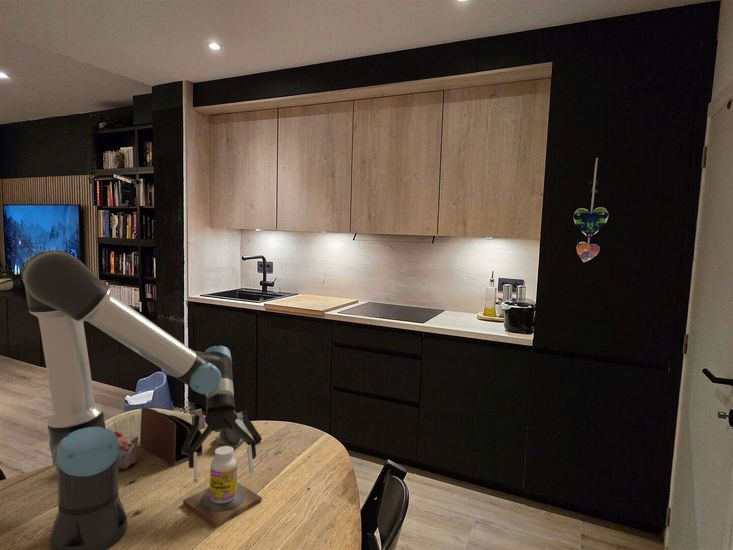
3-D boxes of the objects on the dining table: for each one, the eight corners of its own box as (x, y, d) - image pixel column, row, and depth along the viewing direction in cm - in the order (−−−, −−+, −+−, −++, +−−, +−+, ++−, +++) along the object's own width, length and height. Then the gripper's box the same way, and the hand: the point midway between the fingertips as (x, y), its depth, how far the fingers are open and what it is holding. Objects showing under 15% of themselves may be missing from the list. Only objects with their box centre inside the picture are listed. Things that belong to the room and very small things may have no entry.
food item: (142, 459, 136) (142, 428, 136) (128, 473, 129) (127, 440, 128) (97, 457, 136) (97, 426, 136) (80, 471, 128) (80, 438, 128)
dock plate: (215, 527, 107) (215, 522, 107) (183, 504, 115) (183, 499, 115) (261, 501, 118) (261, 496, 118) (229, 481, 126) (229, 477, 126)
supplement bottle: (205, 504, 113) (206, 455, 112) (215, 489, 120) (216, 443, 119) (231, 505, 113) (232, 456, 112) (240, 491, 120) (240, 444, 119)
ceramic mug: (251, 438, 153) (251, 416, 152) (240, 449, 145) (240, 426, 144) (222, 435, 155) (222, 413, 154) (210, 446, 147) (210, 423, 146)
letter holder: (173, 467, 133) (173, 421, 132) (139, 446, 145) (139, 404, 143) (202, 454, 141) (203, 411, 140) (168, 436, 153) (168, 396, 151)
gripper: (263, 399, 134) (271, 472, 121) (172, 408, 124) (170, 489, 112) (266, 388, 128) (275, 463, 116) (171, 396, 119) (170, 479, 106)
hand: (224, 476), depth 114 cm, fingers open, 13 cm apart
